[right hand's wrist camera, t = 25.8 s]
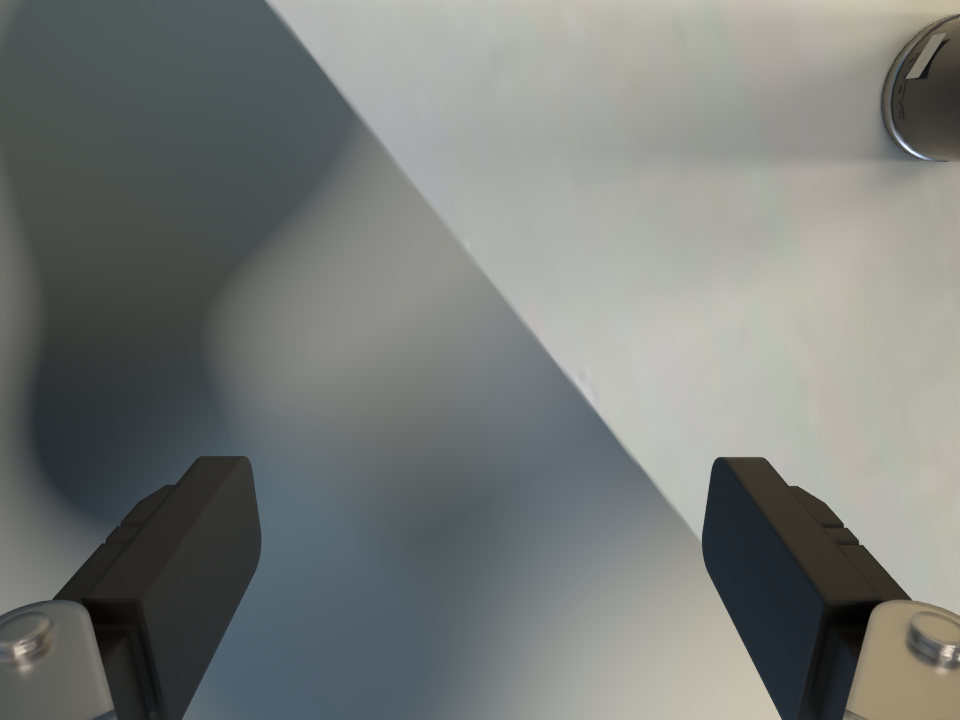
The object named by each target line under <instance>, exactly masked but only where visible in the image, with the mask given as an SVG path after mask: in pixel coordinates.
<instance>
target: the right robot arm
mask: <svg viewBox="0 0 960 720" xmlns="http://www.w3.org/2000/svg"><path fill="white" fill-rule="evenodd" d="M883 117H884V121H885V125H886V128H887V130H888V133H889V135H890V136H891V138H892V140H893V141H894V142H895V143H896V145H897V146H898V147H899V148H900V149H902V150H903V151H904V152H906V153H907V154H909V155H911V156H913V157H915V158H919V159H922V160H927V161H938V162H948V161H954V162H960V14H958V15H954V16H950V17H947V18H944V19H942V20H940V21H937V22H936V23H934V24H932V25H930V26H929V27H927V28H926V29H924V30H923V31H922V32H920V33H919V34H918V35H917V36H916V37H914V38H913V39H912V40H911V41H910V42H909V44H908V45H907V46H906V47H905V48H904V49H903V51H902V52H901V53H900V55H899V56H898V58H897V59H896V61H895V63H894V65H893V66H892V69H891V71H890V73H889V76H888V78H887V81H886V85H885V89H884V94H883ZM702 550H703V557H704V562H705V566H706V568H707V571H708V573H709V575H710V577H711V579H712V581H713V583H714V585H715V587H716V589H717V591H718V593H719V595H720V597H721V599H722V601H723V603H724V605H725V607H726V609H727V611H728V613H729V615H730V617H731V619H732V621H733V623H734V625H735V627H736V629H737V631H738V633H739V635H740V637H741V639H742V641H743V643H744V645H745V647H746V649H747V651H748V653H749V655H750V657H751V659H752V661H753V663H754V665H755V667H756V669H757V671H758V673H759V675H760V677H761V679H762V681H763V683H764V685H765V687H766V689H767V691H768V693H769V695H770V697H771V699H772V701H773V703H774V705H775V707H776V709H777V711H778V713H779V715H780V717H781V719H782V720H960V616H959V615H957V614H955V613H953V612H951V611H948V610H946V609H943V608H941V607H938V606H935V605H931V604H928V603H923V602H919V601H913V600H912V599H911V598H910V597H909V596H908V595H907V594H906V593H905V592H904V590H903V589H902V588H901V587H900V586H899V585H898V584H897V583H896V581H895V580H894V579H893V578H892V577H891V576H890V575H889V574H888V573H887V571H886V570H885V569H884V568H883V567H882V566H881V565H880V564H879V563H878V561H877V560H876V559H875V558H874V557H873V556H872V555H871V554H870V553H869V551H868V550H867V549H866V548H865V547H864V546H863V545H859V540H858V539H857V538H856V537H855V536H854V535H853V534H852V532H851V531H850V530H849V529H848V528H844V524H843V522H842V521H841V520H840V519H839V518H838V517H837V516H836V515H835V514H834V512H833V511H832V510H831V509H830V508H829V507H828V506H827V505H826V503H824V502H822V501H821V500H819V499H818V498H816V497H814V496H813V495H811V494H809V493H808V492H806V491H805V490H803V489H801V488H800V487H798V486H788V485H787V483H786V482H785V481H784V480H783V479H782V477H781V476H780V475H779V474H778V473H777V471H776V470H775V469H774V468H773V467H772V466H771V464H770V463H769V462H768V461H767V460H766V459H765V458H763V457H719V458H717V459H716V460H715V461H714V463H713V466H712V471H711V477H710V484H709V491H708V498H707V505H706V512H705V519H704V526H703V533H702ZM260 551H261V529H260V522H259V515H258V508H257V501H256V494H255V487H254V480H253V473H252V467H251V464H250V461H249V459H248V458H247V457H245V456H201V457H199V458H198V459H197V460H196V461H195V462H194V463H193V464H192V466H191V467H190V468H189V469H188V470H187V472H186V473H185V474H184V475H183V476H182V478H181V479H180V480H179V481H178V482H177V484H176V485H166V486H164V487H162V488H161V489H159V490H158V491H156V492H154V493H153V494H151V495H149V496H148V497H146V498H145V499H143V500H141V501H140V502H139V503H138V504H137V505H136V506H135V507H134V508H133V509H132V510H131V512H130V513H129V514H128V515H127V516H126V517H125V518H124V519H123V521H122V522H121V526H117V527H116V528H115V530H114V531H113V532H112V533H111V534H110V535H109V536H108V537H107V538H106V543H105V544H101V545H100V546H99V548H98V549H97V550H96V551H95V552H94V553H93V554H92V555H91V556H90V558H89V559H88V560H87V561H86V562H85V563H84V564H83V565H82V567H81V568H80V569H79V570H78V571H77V572H76V573H75V575H74V576H73V577H72V578H71V579H70V580H69V581H68V582H67V583H66V585H65V586H64V587H63V588H62V589H61V590H60V591H59V592H58V594H57V595H56V596H55V597H54V598H53V599H52V600H49V601H41V602H37V603H33V604H29V605H25V606H22V607H19V608H17V609H14V610H12V611H9V612H7V613H5V614H3V615H1V616H0V720H182V718H183V716H184V714H185V712H186V710H187V708H188V706H189V704H190V702H191V700H192V698H193V696H194V694H195V692H196V690H197V688H198V686H199V684H200V682H201V680H202V678H203V676H204V674H205V671H206V670H207V668H208V666H209V663H210V662H211V660H212V658H213V656H214V653H215V651H216V649H217V647H218V645H219V643H220V641H221V639H222V637H223V635H224V633H225V631H226V629H227V627H228V625H229V623H230V621H231V619H232V617H233V615H234V613H235V611H236V609H237V607H238V605H239V603H240V601H241V599H242V597H243V595H244V593H245V591H246V589H247V587H248V585H249V583H250V581H251V579H252V577H253V575H254V573H255V571H256V568H257V565H258V562H259V558H260Z"/></svg>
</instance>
